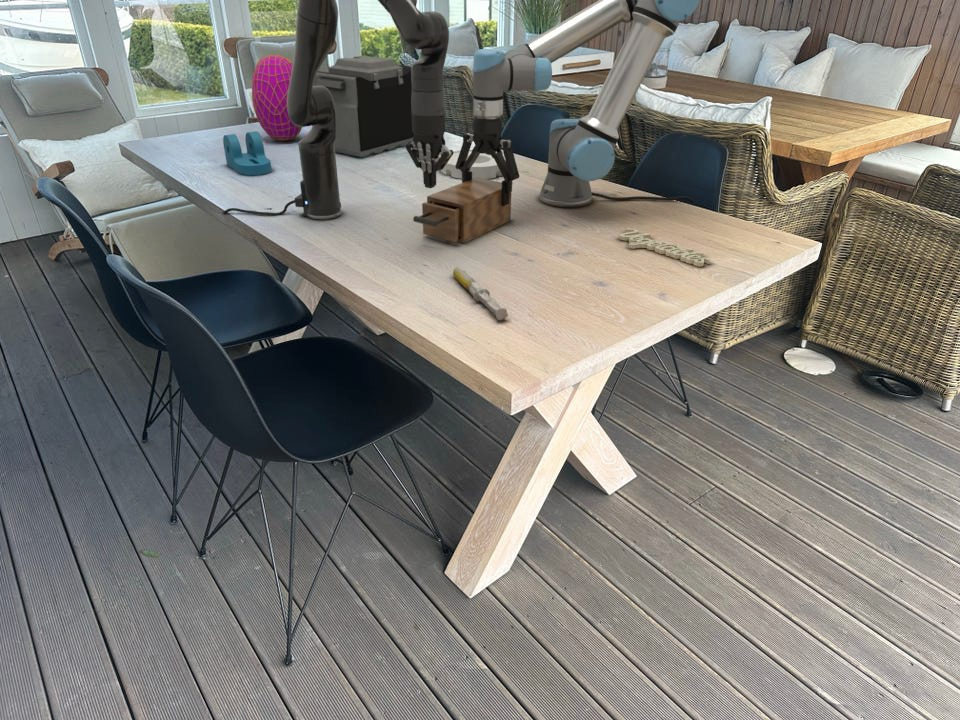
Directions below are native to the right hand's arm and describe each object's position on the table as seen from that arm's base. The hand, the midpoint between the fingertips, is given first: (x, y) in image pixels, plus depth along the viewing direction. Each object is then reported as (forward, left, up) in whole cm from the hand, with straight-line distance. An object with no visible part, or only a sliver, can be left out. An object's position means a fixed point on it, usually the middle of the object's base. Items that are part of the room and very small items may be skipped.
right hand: (486, 200), depth 185 cm
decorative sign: (-48, +1, -5) cm, 48 cm away
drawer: (+2, +13, -4) cm, 14 cm away
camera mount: (+91, -11, -5) cm, 92 cm away
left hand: (+4, +23, +9) cm, 26 cm away
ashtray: (+24, -44, -5) cm, 50 cm away
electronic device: (+73, -56, -5) cm, 93 cm away
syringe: (-19, +45, -5) cm, 50 cm away
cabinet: (+1, +7, -5) cm, 9 cm away
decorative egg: (+108, -49, -5) cm, 119 cm away
